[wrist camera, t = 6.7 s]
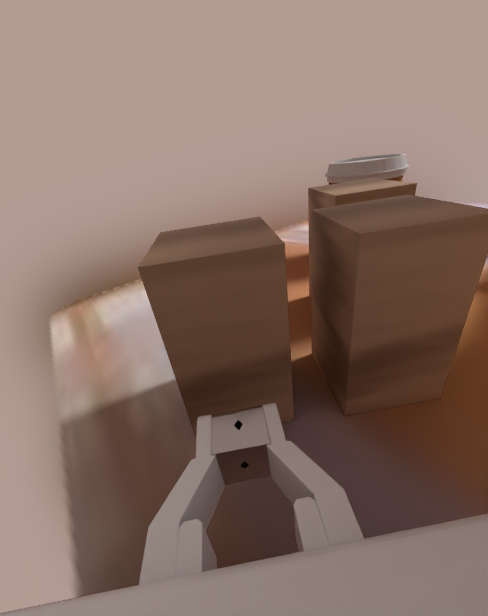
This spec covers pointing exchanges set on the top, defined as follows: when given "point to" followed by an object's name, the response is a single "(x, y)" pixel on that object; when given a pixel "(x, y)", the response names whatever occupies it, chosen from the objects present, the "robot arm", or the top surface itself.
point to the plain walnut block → (223, 315)
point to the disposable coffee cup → (368, 168)
